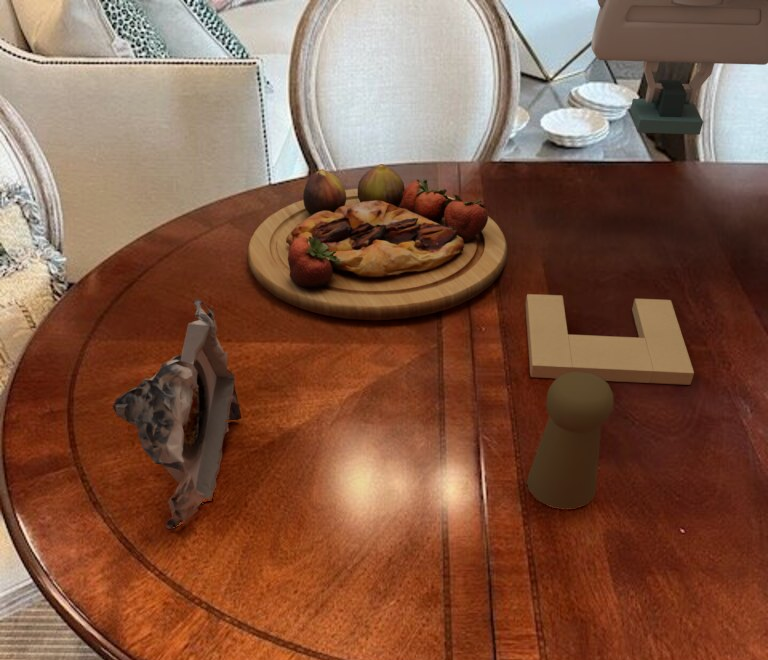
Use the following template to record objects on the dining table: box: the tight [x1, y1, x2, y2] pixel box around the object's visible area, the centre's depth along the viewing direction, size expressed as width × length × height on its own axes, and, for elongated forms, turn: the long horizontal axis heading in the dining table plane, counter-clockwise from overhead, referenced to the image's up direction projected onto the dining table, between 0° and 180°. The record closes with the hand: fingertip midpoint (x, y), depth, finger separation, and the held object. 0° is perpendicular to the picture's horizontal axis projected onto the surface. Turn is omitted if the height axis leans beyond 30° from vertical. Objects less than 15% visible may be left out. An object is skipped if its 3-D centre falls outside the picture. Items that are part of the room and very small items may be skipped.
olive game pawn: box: [526, 372, 614, 509], centre depth 65 cm, size 6×6×11 cm
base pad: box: [525, 293, 695, 386], centre depth 84 cm, size 16×14×2 cm
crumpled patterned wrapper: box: [112, 298, 242, 531], centre depth 65 cm, size 15×4×13 cm, turn 174°
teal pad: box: [629, 79, 704, 136], centre depth 93 cm, size 7×7×4 cm
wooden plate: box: [246, 163, 508, 321], centre depth 95 cm, size 32×32×8 cm
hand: (669, 102), depth 93 cm, fingers closed on teal pad, 2 cm apart
